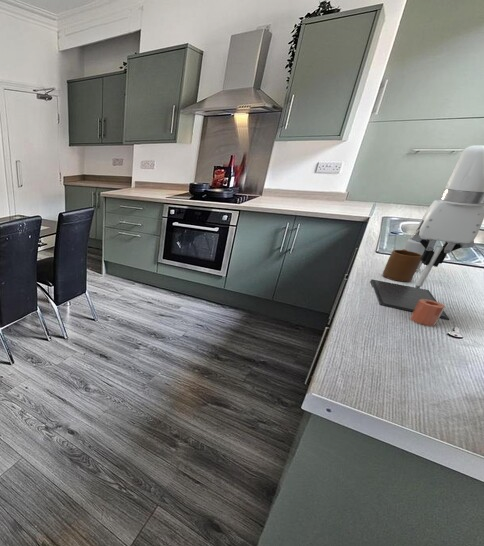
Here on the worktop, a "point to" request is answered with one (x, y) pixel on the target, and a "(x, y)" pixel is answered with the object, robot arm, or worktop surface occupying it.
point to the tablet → (401, 296)
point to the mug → (402, 265)
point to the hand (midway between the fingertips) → (429, 264)
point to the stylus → (428, 267)
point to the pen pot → (427, 312)
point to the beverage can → (415, 248)
